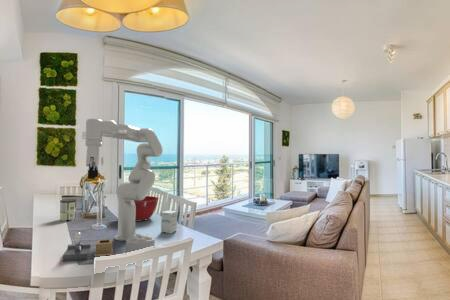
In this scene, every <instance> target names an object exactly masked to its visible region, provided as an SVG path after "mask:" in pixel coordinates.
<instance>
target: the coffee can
mask: <svg viewBox="0 0 450 300" xmlns="http://www.w3.org/2000/svg"><path fill="white" fill-rule="evenodd" d="M59 202H60V204H59V207H60V210H59V221H60V220H62V221H61V222H67V221H66V220H72V221H75V220H76V219H77V199H76V198H74V199H73V198H66V199H64V198H63V199H60V200H59ZM74 219H75V220H74Z"/></svg>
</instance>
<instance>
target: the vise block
mask: <svg viewBox="0 0 450 300" xmlns="http://www.w3.org/2000/svg"><path fill="white" fill-rule="evenodd" d="M74 239H75V240H74V243H72V244H68V245H67V249H66V250H65V251H64V253H63V254H62V262H63V263H66V262H77V261H88V259H89V257H90V255H91V252H92V242H88V243H85V242H84V243H81V240H82V233H81V232H74Z"/></svg>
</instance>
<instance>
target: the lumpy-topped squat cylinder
mask: <svg viewBox="0 0 450 300" xmlns="http://www.w3.org/2000/svg"><path fill="white" fill-rule="evenodd" d="M136 234H137V233H136ZM155 243H156V242H155V238H154V237H152V236H151V235H149V234H143V235H142V234H140V233H138V234H137V235H135V236H132V237H131V238H130V239H128V240H126V241H125V254H126V253H127V252H131V251H135V250H139V249H143V248H146V247H150V246H154V247H155Z"/></svg>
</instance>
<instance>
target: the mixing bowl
mask: <svg viewBox="0 0 450 300" xmlns="http://www.w3.org/2000/svg"><path fill="white" fill-rule="evenodd" d="M134 202H135V206H136V219H135V220H145V219H148V218H149V219H150V218H151V217H152V216H153V214H154V212H155V210H156V208H157V205H158V202H159V197H157V196H151V195H149V196H148V195H147V196H146V197H145V198H144V199H143V200H141V201H136V200H134ZM149 219H148V220H149ZM145 221H146V220H145Z"/></svg>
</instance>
